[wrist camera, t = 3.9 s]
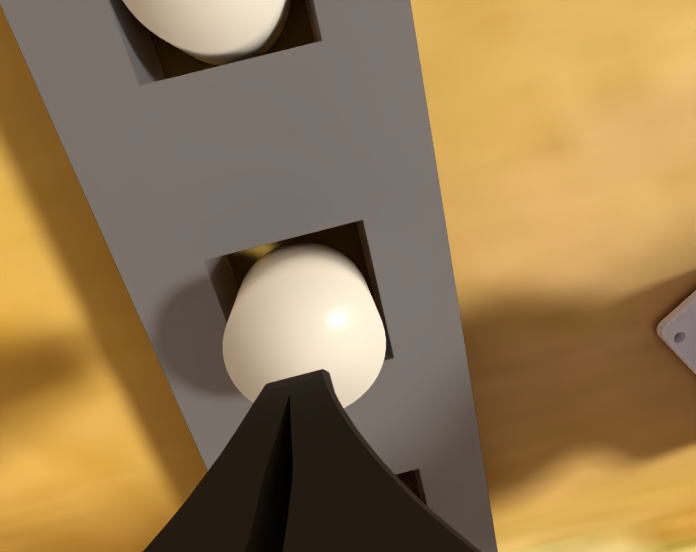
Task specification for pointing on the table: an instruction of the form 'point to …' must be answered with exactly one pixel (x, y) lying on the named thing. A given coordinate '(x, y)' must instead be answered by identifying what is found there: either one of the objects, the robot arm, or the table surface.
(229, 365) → the button mid
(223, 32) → the button
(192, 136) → the control strip
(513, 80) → the table surface
